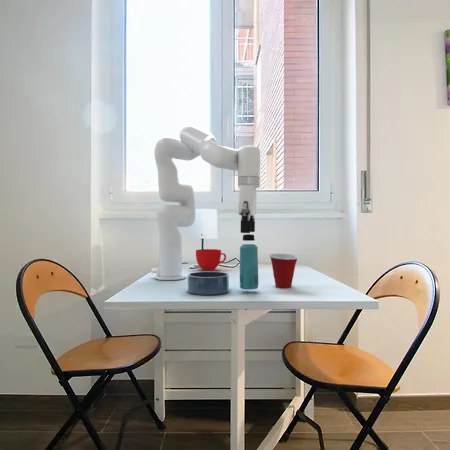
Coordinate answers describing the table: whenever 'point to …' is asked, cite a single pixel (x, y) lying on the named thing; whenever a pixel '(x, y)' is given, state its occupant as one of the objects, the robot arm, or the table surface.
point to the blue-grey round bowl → (208, 283)
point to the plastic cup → (283, 269)
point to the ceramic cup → (209, 258)
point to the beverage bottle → (248, 264)
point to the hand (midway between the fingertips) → (247, 232)
